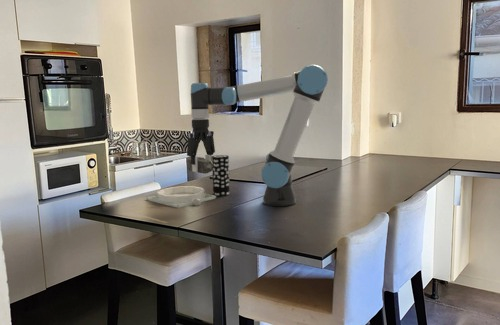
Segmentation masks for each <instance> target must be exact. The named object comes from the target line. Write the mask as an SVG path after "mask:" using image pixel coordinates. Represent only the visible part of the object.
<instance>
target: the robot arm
mask: <svg viewBox="0 0 500 325" xmlns="http://www.w3.org/2000/svg"><path fill="white" fill-rule="evenodd" d="M328 82H329V81H328V74H327V72H326V70H325V69H324V68H323V67H321V66H320V65H316V64H309V65H307V66H304V67H303V68H302V69H301V70H300V71H296V72H293V74H291V75H287V76H286V75H285V76H281V77H277V78H276V77H275V78H271V79H266V80H260V81H254V82H250V83H249V82H248V83H245V84H244V83H243V84H238V85H233V86H224V87H221V86H220V87H219V86H218V87H210V86H209V84H208V83H206V82H195V83H191V84H190V106H191V107H190V108H191V128H192V131H191V132H190V133H189V132H188V133H186V136H187V144H186V145H187V148H186V156H188V158H191V164H192V171H191V172H193V173H198V164H197V153H198V150H199V144H200V143H201V142H202V143H203V147H204V149H205V152H206V154H205V155H204V156H205V157H204V159H206V160H209V161H211V162H212V156H214V153H216V149H215V148H216V147H215V141H214V139H215V138H214V134H215V133H214V131H213V130H209V127H210V120H209V118H210V113H209V106H230V105H231V106H232V105H235V104H236V103H241V102H247V101H254V100H259V99H264V98H270V97H275V96H280V95H281V96H282V95H286V94H287V95H288V94H293V95H294V99H293V101H292V104H291V106H290V108H289V112H288V114H287V117H286V119H285V122H284V124H283V127H282V129H281V132H280V135H279V138H278V139H277V143H276V145H275V147H274V149H273V150H270V151H269V153H268V154H267V155H266V159H265V163H264V166H263V167H262V169H261V171H260V172H261V175H260V177H261V180H262V182H263V183H264V184H265V185H266V189H265V191H264V194H263V198H262V200H263V202H262V203H263V204H264V205H267V206H272V207H273V206H274V207H286V206H292V205H294V204H296V203H297V200H296V198H297V197H296V195H295V192H294V189H293V188H294V187H293V181H292V180H293V179H292V178H293V174H292V172H293V169H294V166H295V164H296V162H295V159H294V155H295V154H296V151H297V149H298V146H299V143H300V141H301V138H302V136H303V133H304V130H305V128H306V126H307V123H308V121H309V119H310V117H311V116H310V115H311V113H312V110H313V108H314V105H315V104H318V103H320V101H321V98H322V96H323V93H324V91H325V88H326V87H327V84H328Z"/></svg>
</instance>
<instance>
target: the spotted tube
mask: <svg viewBox="0 0 500 325" xmlns="http://www.w3.org/2000/svg"><path fill="white" fill-rule="evenodd" d="M229 158H230V157H229V155H226V154H216V155H212V161H211V162H212V165H213V170H212V171H211V172H212V174H211V175H212V195H215V196H216V197H228V196H230V195H231V194H230V192H231V190H230V163H229V162H230V159H229Z"/></svg>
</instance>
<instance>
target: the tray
mask: <svg viewBox="0 0 500 325" xmlns="http://www.w3.org/2000/svg"><path fill="white" fill-rule="evenodd" d="M215 199H217V196H215V195H213V194H209V193H205V198H204V199H200V200H201V203H202V202H206V201H207V202H208V201H211V200H215ZM146 201H149V202H153V203H157V204H161V205H164V206H165V205H166V206H168V207H173V208H177V209H178V208H183V207H187V206H191V205H194V204H193V201H191V202H187V203H183V204H179V205H177V204H173V203H169V202H165V201H161V200H158V194H157V195H153V196H148V197H146Z"/></svg>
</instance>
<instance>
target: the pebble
mask: <svg viewBox="0 0 500 325" xmlns="http://www.w3.org/2000/svg"><path fill="white" fill-rule="evenodd" d="M192 205H193V206H196V207H197V206H201V205H202V202H201V200H200V199H198V198H196V199H195V200H194V201H193V204H192Z"/></svg>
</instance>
